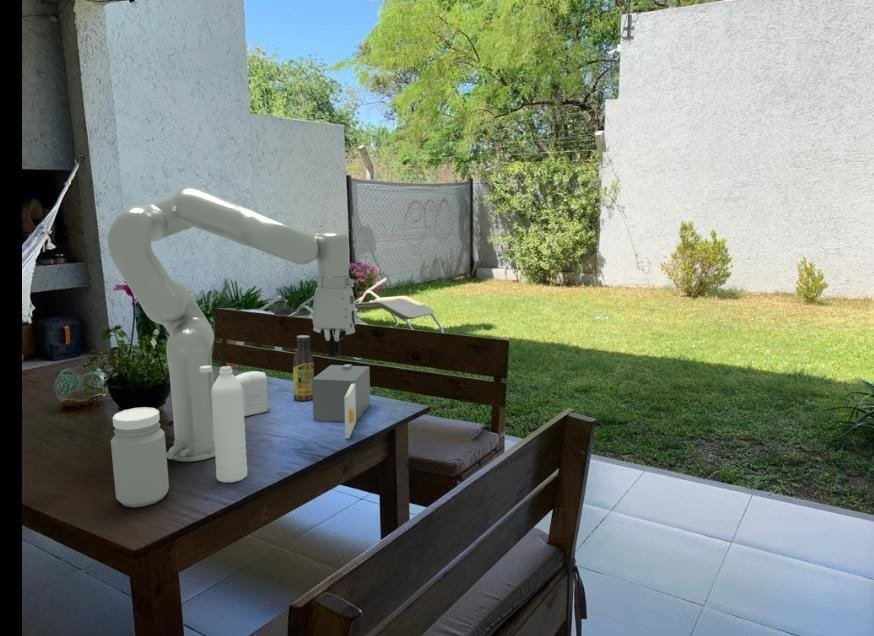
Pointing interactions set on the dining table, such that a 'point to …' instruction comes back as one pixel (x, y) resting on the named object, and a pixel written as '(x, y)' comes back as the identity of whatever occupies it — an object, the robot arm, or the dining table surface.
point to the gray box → (339, 391)
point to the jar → (139, 457)
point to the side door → (350, 410)
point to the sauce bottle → (303, 370)
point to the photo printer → (254, 392)
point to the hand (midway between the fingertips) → (334, 355)
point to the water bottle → (228, 426)
